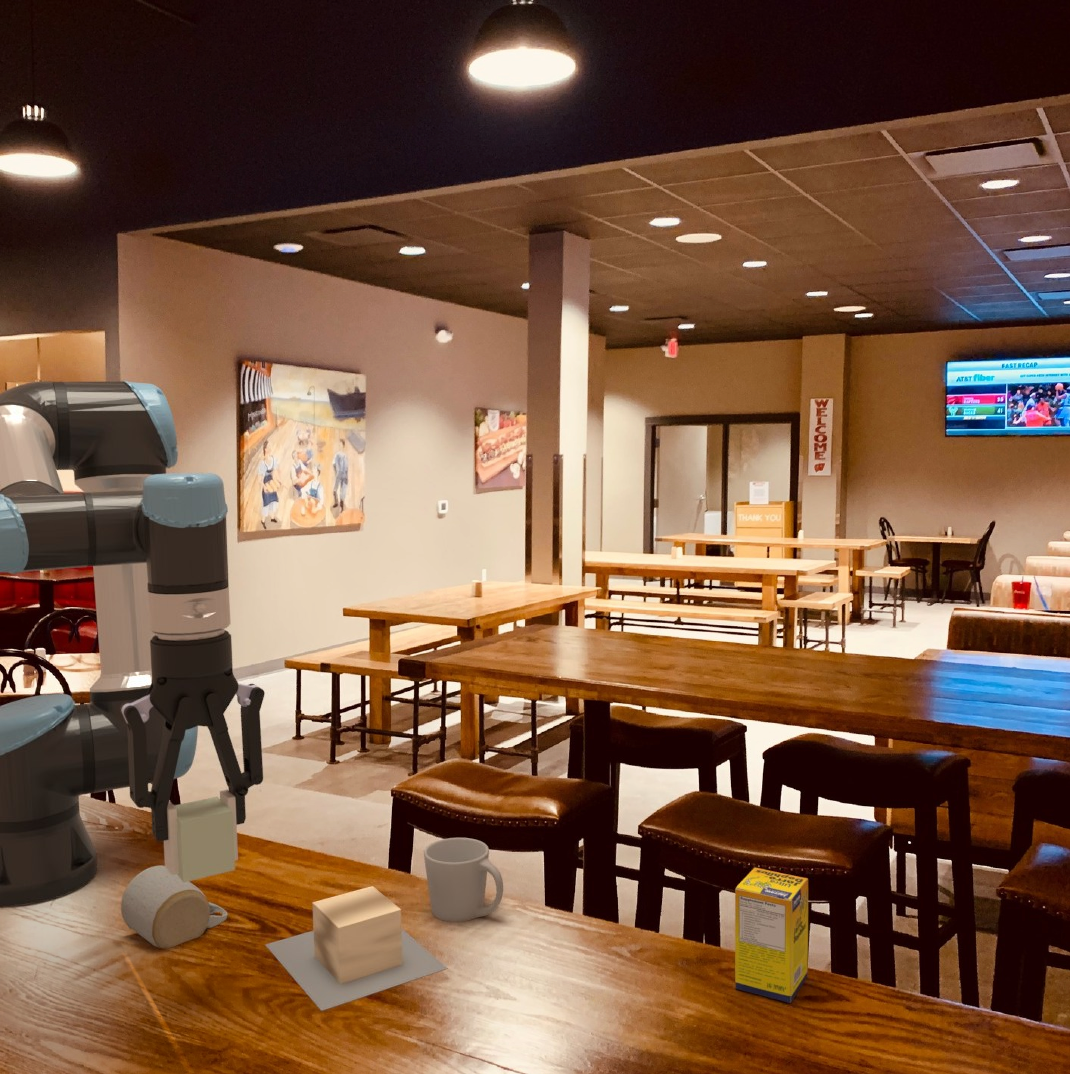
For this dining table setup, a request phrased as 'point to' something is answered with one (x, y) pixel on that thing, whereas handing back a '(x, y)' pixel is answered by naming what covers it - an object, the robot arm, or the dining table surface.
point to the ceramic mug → (167, 908)
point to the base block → (357, 934)
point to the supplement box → (771, 934)
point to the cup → (460, 879)
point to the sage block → (204, 839)
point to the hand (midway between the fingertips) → (201, 862)
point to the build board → (331, 993)
